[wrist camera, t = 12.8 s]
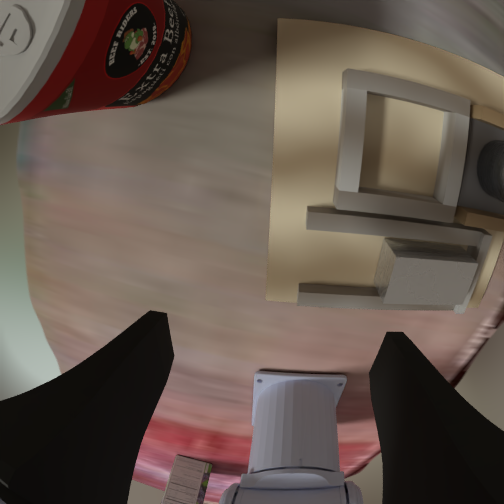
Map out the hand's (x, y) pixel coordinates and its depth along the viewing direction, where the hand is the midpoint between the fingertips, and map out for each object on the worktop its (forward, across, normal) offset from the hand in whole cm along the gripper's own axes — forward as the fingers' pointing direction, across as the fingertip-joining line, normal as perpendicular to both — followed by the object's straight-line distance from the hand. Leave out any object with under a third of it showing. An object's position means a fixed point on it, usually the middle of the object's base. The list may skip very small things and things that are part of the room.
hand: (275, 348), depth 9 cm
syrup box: (+10, +10, +40) cm, 42 cm away
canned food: (+10, +9, -11) cm, 18 cm away
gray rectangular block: (+9, -9, +1) cm, 13 cm away
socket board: (+10, -8, -4) cm, 13 cm away
